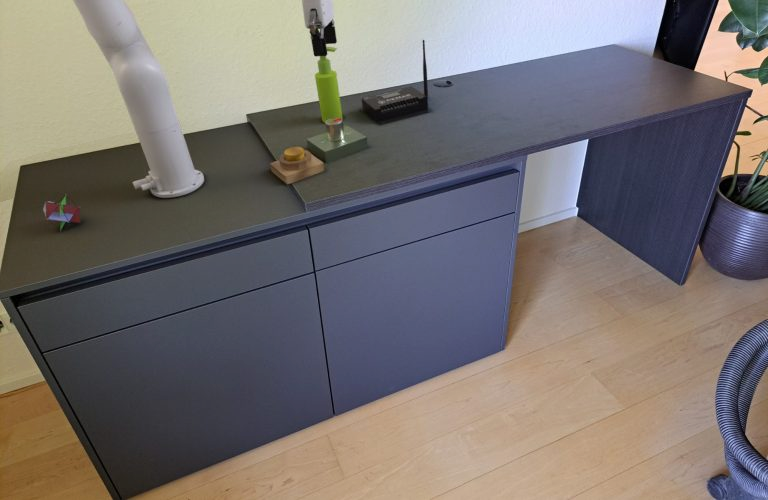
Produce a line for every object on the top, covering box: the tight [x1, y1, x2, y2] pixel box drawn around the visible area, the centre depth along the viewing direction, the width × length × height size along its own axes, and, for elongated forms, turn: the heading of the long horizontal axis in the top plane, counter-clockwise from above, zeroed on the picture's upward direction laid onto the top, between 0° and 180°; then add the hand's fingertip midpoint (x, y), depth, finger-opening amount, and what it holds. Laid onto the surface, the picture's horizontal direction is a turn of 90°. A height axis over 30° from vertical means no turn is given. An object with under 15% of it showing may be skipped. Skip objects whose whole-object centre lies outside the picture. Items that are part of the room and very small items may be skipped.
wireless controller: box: [360, 39, 431, 126], centre depth 156 cm, size 20×14×17 cm
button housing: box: [269, 149, 325, 185], centre depth 134 cm, size 10×9×4 cm
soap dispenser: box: [314, 46, 343, 123], centre depth 154 cm, size 6×7×20 cm
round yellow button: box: [283, 146, 305, 161], centre depth 132 cm, size 5×5×2 cm
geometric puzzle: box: [42, 194, 81, 232], centre depth 122 cm, size 7×7×8 cm
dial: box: [324, 117, 345, 141], centre depth 140 cm, size 4×4×5 cm
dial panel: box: [306, 125, 369, 163], centre depth 142 cm, size 12×10×3 cm
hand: (325, 49), depth 135 cm, fingers open, 9 cm apart
